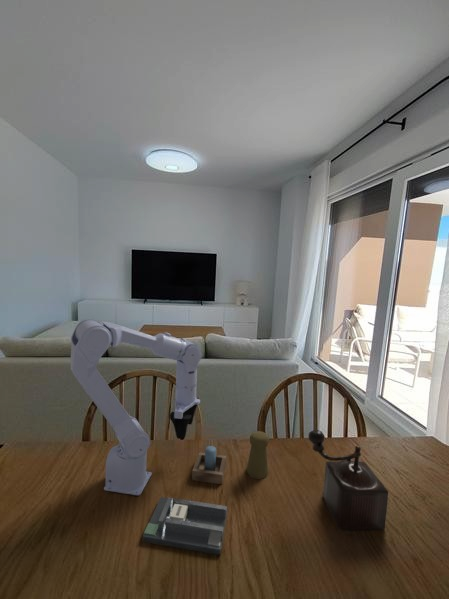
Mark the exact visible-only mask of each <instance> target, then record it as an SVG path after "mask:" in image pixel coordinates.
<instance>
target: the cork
mask: <svg viewBox="0 0 449 599" xmlns="http://www.w3.org/2000/svg"><path fill="white" fill-rule="evenodd" d="M249 443H250V445H251V446H250V450H249V455H248V461H247V464H246V473H247V474H248V475H249V476H250V477H251V478H253V479H259V480H261V479H264V478H266V477H267V476H269V466H268V453H267V451H268V450H267V447H268V445H269V443H270V439H269V436H268V434H267V433H265V432H264V431H262V430H261V431H259V430H257V431H254V432H252V433H251V434H250V436H249Z"/></svg>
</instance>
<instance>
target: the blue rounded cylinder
mask: <svg viewBox="0 0 449 599" xmlns="http://www.w3.org/2000/svg"><path fill="white" fill-rule="evenodd" d="M204 453H205V467H204V470H209V471H215V465H216V455H217V448H216V447H215V446H214V445H207V446H206V447H205V451H204Z"/></svg>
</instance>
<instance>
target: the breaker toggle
mask: <svg viewBox="0 0 449 599" xmlns="http://www.w3.org/2000/svg"><path fill="white" fill-rule="evenodd" d="M187 513H188V506H186V505H180V504H174V507H173V509H172V512H171V514H170V518H171V519H178V520H184V521H185V519H186V516H187Z"/></svg>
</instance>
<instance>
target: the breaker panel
mask: <svg viewBox="0 0 449 599" xmlns="http://www.w3.org/2000/svg"><path fill="white" fill-rule="evenodd" d="M174 504H180V505H186V506H188V513H187V516H186V519H185V521H184V520H178V519H171V518H170V514H171V512H172V509H173V507H174ZM227 516H228V507H227V506H226V505H221V504H214V503H209V502H201V501H196V500H195V501H193V500H188V499H181V498H176V497H175V498H173V497H170V496H168V497H162V496H161V497H160V498H159V500H158V502H157V505H156V507H155V509H154V511H153V514H152V515H151V516H150V517H151V518H150V519H149V522H148V523H147V525H146V527H145V530H144V532H143V535H142V542H144V543H148V544H155V545H158V546H159V545H161V546H166V547H171V548H177V549H184V550H188V551H194V552H200V553H204V554H205V553H206V554H211V555H217V556H221V555H222V554H221V553H222V548H223V547H222V546H223V541H224V535H225V528H226V521H227V518H228V517H227Z"/></svg>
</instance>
